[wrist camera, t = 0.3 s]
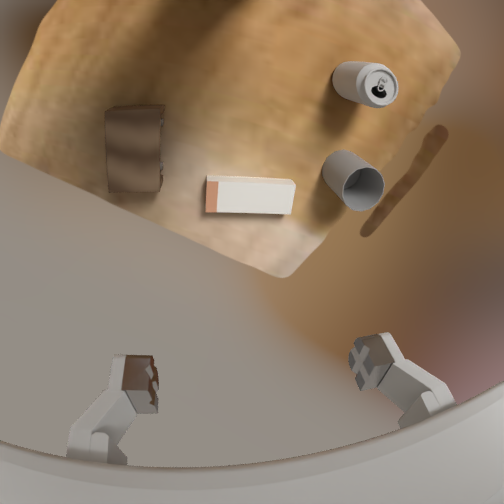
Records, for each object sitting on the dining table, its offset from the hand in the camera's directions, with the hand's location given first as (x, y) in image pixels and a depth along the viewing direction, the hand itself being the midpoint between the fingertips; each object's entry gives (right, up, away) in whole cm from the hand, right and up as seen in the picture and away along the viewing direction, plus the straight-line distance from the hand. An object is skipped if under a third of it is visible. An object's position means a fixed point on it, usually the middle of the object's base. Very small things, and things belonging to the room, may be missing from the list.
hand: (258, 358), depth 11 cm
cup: (+17, +20, +46) cm, 54 cm away
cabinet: (-20, +23, +38) cm, 49 cm away
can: (+17, +35, +36) cm, 54 cm away
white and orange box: (-1, +15, +46) cm, 49 cm away
